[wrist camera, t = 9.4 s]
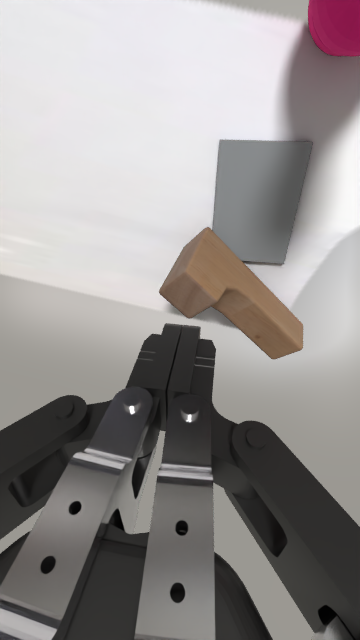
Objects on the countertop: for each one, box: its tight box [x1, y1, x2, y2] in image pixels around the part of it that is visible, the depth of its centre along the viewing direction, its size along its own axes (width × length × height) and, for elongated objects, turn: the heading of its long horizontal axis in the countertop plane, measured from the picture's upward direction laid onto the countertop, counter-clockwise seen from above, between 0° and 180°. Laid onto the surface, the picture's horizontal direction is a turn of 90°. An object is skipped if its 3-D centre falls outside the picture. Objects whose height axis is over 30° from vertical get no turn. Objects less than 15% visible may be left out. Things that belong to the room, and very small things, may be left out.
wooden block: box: [159, 227, 303, 359], centre depth 33 cm, size 9×4×18 cm
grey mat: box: [213, 140, 313, 264], centre depth 30 cm, size 8×12×1 cm
